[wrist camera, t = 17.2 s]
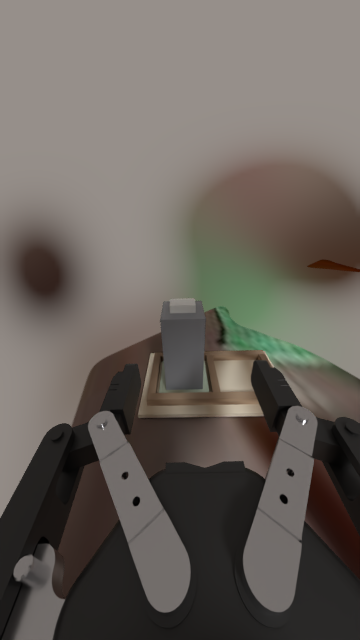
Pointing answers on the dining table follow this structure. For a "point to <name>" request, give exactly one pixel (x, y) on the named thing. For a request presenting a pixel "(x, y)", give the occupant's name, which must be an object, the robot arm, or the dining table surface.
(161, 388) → the dock
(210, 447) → the dining table surface
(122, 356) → the dining table surface
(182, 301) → the plug
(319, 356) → the dining table surface
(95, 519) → the dining table surface
